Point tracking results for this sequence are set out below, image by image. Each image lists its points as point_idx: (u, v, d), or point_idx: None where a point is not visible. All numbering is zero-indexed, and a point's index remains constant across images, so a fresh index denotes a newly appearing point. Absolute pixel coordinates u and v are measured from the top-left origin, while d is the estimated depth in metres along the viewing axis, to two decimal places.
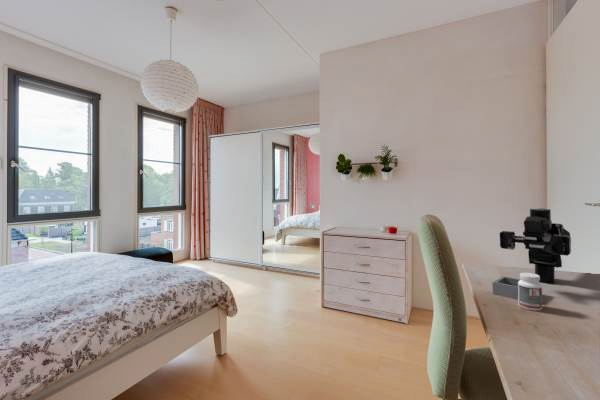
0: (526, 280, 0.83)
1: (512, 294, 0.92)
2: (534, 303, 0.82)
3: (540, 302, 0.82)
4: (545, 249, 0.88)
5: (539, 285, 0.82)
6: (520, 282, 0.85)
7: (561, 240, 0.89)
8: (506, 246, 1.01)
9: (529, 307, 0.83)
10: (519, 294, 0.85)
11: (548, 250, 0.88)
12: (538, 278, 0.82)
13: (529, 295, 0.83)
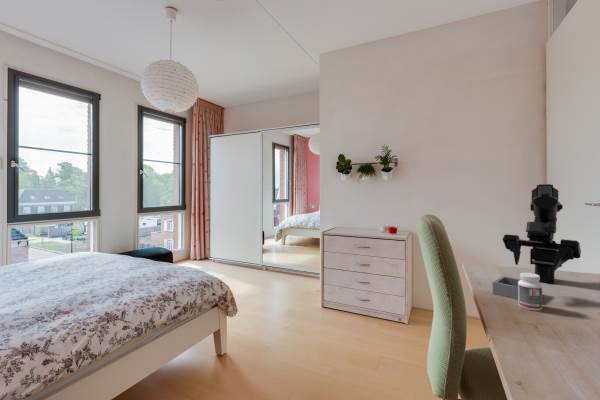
0: (526, 280, 0.83)
1: (512, 294, 0.92)
2: (534, 303, 0.82)
3: (540, 302, 0.82)
4: (555, 269, 0.84)
5: (539, 285, 0.82)
6: (520, 282, 0.85)
7: (570, 250, 0.83)
8: (512, 250, 0.96)
9: (529, 307, 0.83)
10: (519, 294, 0.85)
11: (558, 266, 0.84)
12: (538, 278, 0.82)
13: (529, 295, 0.83)
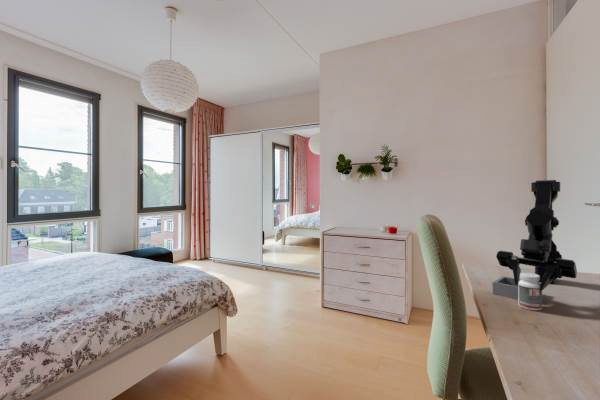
0: (526, 279, 0.83)
1: (512, 294, 0.92)
2: (534, 303, 0.82)
3: (540, 302, 0.82)
4: (542, 288, 0.81)
5: (539, 285, 0.82)
6: (520, 282, 0.85)
7: (558, 269, 0.81)
8: None
9: (530, 307, 0.83)
10: (519, 294, 0.85)
11: (546, 285, 0.82)
12: (538, 278, 0.82)
13: (529, 295, 0.83)
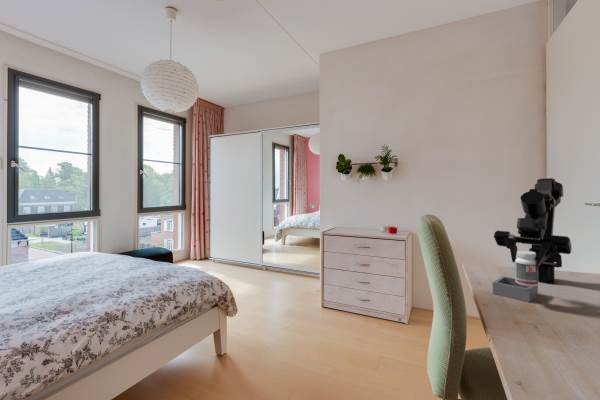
0: (523, 257, 0.86)
1: (512, 294, 0.92)
2: (531, 279, 0.85)
3: (536, 278, 0.85)
4: (538, 264, 0.84)
5: (535, 261, 0.85)
6: (517, 259, 0.88)
7: (553, 245, 0.83)
8: (509, 247, 0.94)
9: (526, 283, 0.85)
10: (516, 271, 0.88)
11: (541, 262, 0.85)
12: (534, 255, 0.85)
13: (526, 272, 0.85)
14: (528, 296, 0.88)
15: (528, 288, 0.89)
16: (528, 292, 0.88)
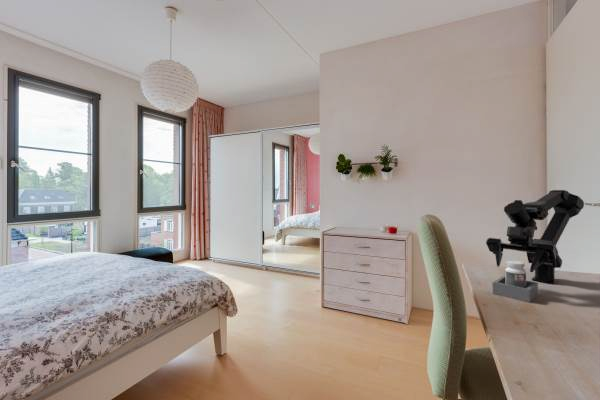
0: (512, 266, 0.94)
1: (512, 294, 0.92)
2: None
3: (524, 286, 0.92)
4: (532, 270, 0.90)
5: (523, 271, 0.93)
6: (507, 269, 0.95)
7: (545, 253, 0.90)
8: None
9: None
10: (506, 279, 0.95)
11: (535, 268, 0.91)
12: (523, 265, 0.93)
13: (515, 280, 0.93)
14: (528, 296, 0.88)
15: (528, 288, 0.89)
16: (528, 292, 0.88)
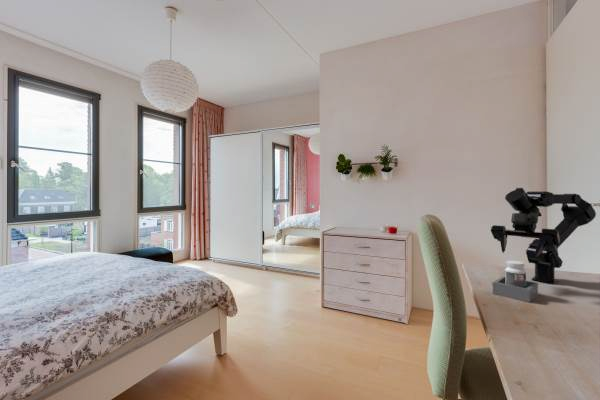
0: (512, 266, 0.94)
1: (512, 294, 0.92)
2: None
3: (524, 286, 0.92)
4: (537, 255, 0.93)
5: (523, 271, 0.93)
6: (507, 269, 0.95)
7: (550, 238, 0.92)
8: (499, 240, 1.05)
9: None
10: (506, 279, 0.96)
11: (539, 253, 0.93)
12: (522, 265, 0.93)
13: (515, 280, 0.93)
14: (528, 296, 0.88)
15: (528, 288, 0.89)
16: (528, 292, 0.88)
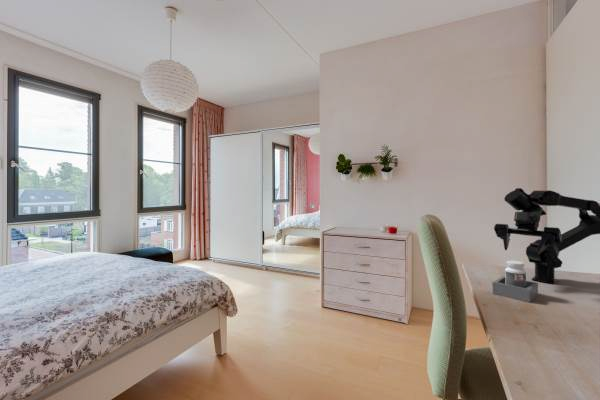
0: (512, 266, 0.94)
1: (512, 294, 0.92)
2: None
3: (524, 286, 0.92)
4: (538, 253, 0.95)
5: (523, 271, 0.93)
6: (507, 269, 0.95)
7: (551, 236, 0.94)
8: (502, 238, 1.08)
9: None
10: (506, 279, 0.96)
11: (541, 250, 0.95)
12: (522, 265, 0.93)
13: (514, 280, 0.93)
14: (528, 296, 0.88)
15: (528, 288, 0.89)
16: (528, 292, 0.88)
